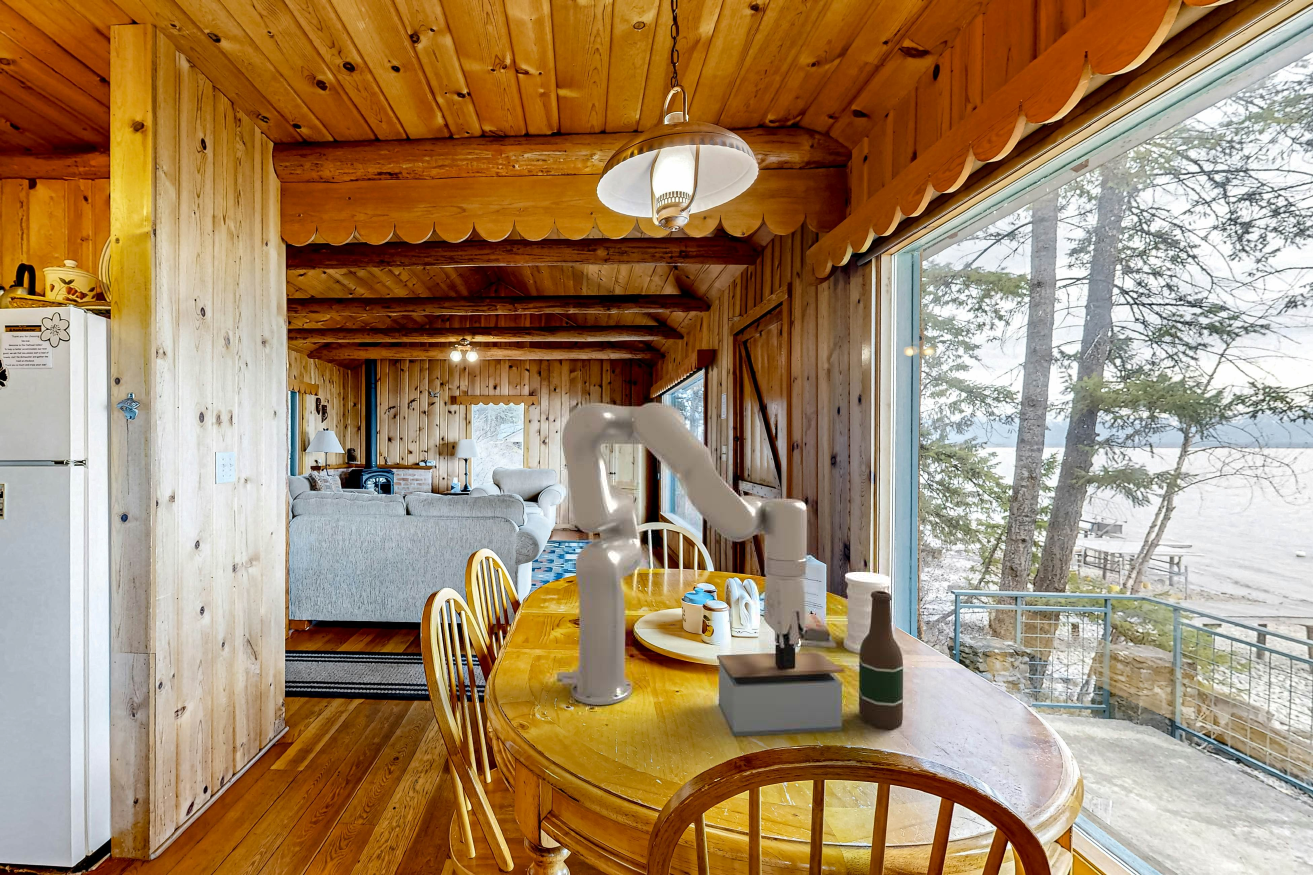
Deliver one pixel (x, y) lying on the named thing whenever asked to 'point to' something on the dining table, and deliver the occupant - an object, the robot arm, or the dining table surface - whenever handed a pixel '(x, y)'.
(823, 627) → the packaged product
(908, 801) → the dining table surface
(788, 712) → the crate
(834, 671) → the lid
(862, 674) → the beer bottle
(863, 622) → the decorative container
